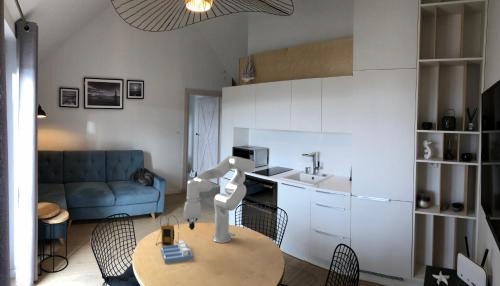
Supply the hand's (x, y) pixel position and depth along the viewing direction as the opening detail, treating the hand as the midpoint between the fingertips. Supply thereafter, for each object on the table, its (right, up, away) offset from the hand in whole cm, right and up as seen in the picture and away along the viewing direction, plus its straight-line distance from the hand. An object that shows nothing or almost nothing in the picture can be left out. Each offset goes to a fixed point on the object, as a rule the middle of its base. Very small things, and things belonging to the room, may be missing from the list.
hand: (191, 229), depth 202 cm
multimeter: (-16, -12, +10) cm, 23 cm away
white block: (-6, -11, -1) cm, 13 cm away
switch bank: (-8, -13, -8) cm, 18 cm away
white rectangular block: (-4, -12, -7) cm, 14 cm away
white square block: (-2, -12, -12) cm, 17 cm away
